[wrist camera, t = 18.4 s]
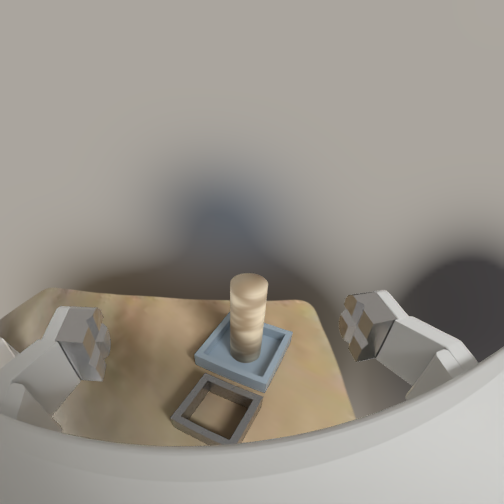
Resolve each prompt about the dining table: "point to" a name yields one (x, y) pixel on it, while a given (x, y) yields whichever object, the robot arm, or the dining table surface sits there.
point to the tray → (249, 374)
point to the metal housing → (225, 391)
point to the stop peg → (247, 316)
